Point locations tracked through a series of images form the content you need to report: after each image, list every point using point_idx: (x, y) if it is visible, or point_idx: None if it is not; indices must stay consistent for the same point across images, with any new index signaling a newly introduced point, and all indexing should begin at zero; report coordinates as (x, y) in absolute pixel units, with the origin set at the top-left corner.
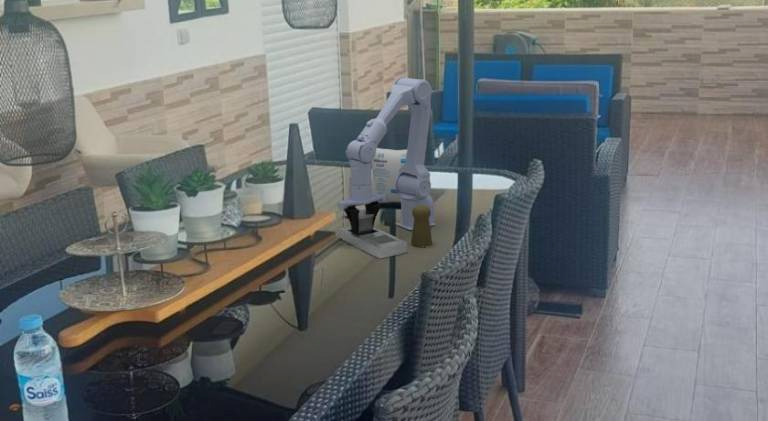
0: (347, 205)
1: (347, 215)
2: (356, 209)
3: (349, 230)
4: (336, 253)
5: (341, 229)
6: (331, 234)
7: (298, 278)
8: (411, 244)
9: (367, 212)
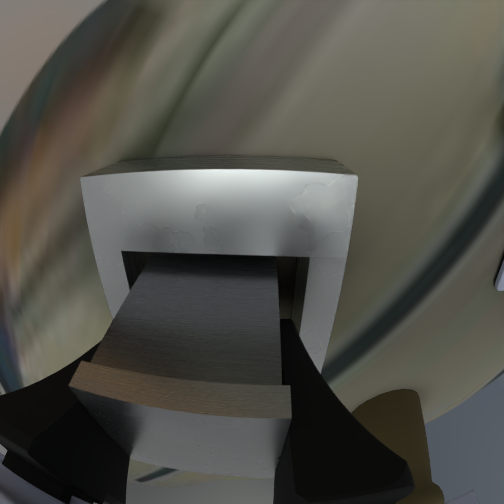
0: (20, 487)
1: (51, 383)
2: (101, 500)
3: (142, 247)
4: (66, 335)
5: (91, 209)
6: (123, 51)
7: (5, 378)
8: (356, 410)
9: (248, 460)
